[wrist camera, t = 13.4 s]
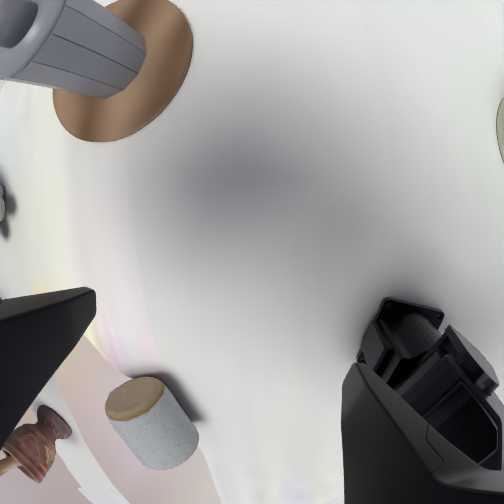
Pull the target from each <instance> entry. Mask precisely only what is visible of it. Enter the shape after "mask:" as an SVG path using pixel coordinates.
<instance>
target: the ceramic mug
mask: <svg viewBox="0 0 504 504" xmlns="http://www.w3.org/2000/svg"><path fill="white" fill-rule="evenodd" d="M105 411H106V414H107V417H108V419H109V421H110V423H111V424H112V426H113V428H114V429H115V430H116V432H117V433H118V434H119V435H120V437H121V438H122V439H123V440H124V442H125V443H126V444H127V446H128V447H129V448H130V450H131V451H132V452H133V453H134V455H135V456H136V457H137V458H138V459H139V460H140V462H141V463H142V464H143V465H145V466H147V467H148V468H150V469H154V470H166V469H171V468H174V467H176V466H178V465H180V464H182V463H183V462H185V461H186V460H187V459H189V457H190V456H191V455H192V454H193V453H194V451H195V450H196V448H197V446H198V441H199V434H198V431H197V429H196V427H195V426H194V425H193V423H192V422H191V421H190V419H189V418H188V416H187V415H186V414H185V412H184V411H183V409H182V408H181V407H180V405H179V404H178V402H177V401H176V399H175V398H174V396H173V395H172V393H171V392H170V390H169V389H168V388H167V387H166V386H165V385H164V383H162V382H161V381H160V380H159V379H156V378H154V377H139V378H135V379H132V380H130V381H127V382H125V383H124V384H122V385H120V386H119V387H118V388H116V389H114V390H113V391H111V392H110V393H109V394H108V399H107V401H106V404H105Z"/></svg>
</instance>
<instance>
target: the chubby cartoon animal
mask: <svg viewBox="0 0 504 504" xmlns="http://www.w3.org/2000/svg"><path fill="white" fill-rule="evenodd" d="M4 214H5V204H4V200H3V187H2V186H1V185H0V222H1V221H2V220H3V218H4Z"/></svg>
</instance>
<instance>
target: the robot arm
mask: <svg viewBox="0 0 504 504" xmlns="http://www.w3.org/2000/svg"><path fill="white" fill-rule="evenodd" d="M387 303H390V305H389V306H386V304H387ZM95 315H96V293H95V291H94V290H93V289H90V288H88V287H80V288H74V289H67V290H61V291H55V292H49V293H42V294H36V295H30V296H23V297H17V298H10V299H4V300H0V450H1V449H2V447H3V446H4V444H5V442H6V441H7V439H8V438H9V436H10V435H11V433H12V432H13V430H14V429H15V427H16V425H17V424H18V422H19V421H20V420H21V418H22V416H23V415H24V414H25V412H26V411H27V409H28V408H29V407H30V405H31V404H32V402H33V401H34V400H35V398H36V397H37V395H38V394H39V393H40V391H41V390H42V389H43V387H44V386H45V385H46V383H47V382H48V381H49V379H50V378H51V377H52V375H53V374H54V373H55V371H56V370H57V369H58V367H59V366H60V365H61V364H62V362H63V361H64V360H65V359H66V357H67V356H68V355H69V354H70V352H71V351H72V350H73V348H74V347H75V346H76V344H77V343H78V341H79V340H80V338H81V337H82V335H83V334H84V332H85V331H86V329H87V328H88V326H89V325H90V323H91V322H92V320H93V319H94V317H95ZM438 315H440V316H439V317H438ZM443 318H444V313H443V312H442V311H441V310H439V309H434V308H430V307H426V306H422V305H418V304H413V303H409V302H405V301H401V300H397V299H393V298H385V299H384V300H383V302H382V304H381V306H380V308H379V311H378V313H377V315H376V317H375V320H373V321H372V322H371V324H370V326H369V328H368V331H367V333H366V335H365V337H364V339H363V341H362V343H361V349H360V351H359V353H358V355H357V358H356V359H357V362H358V363H357V362H355V363H353V365H352V366H351V368H350V370H349V372H348V374H347V375H346V377H345V379H344V381H343V385H342V410H341V433H342V448H343V468H344V504H504V405H503V403H502V402H501V401H500V399H499V398H498V397H497V395H496V394H495V393H494V390H495V389H496V388H497V387H498V386H499V381H498V379H497V376H496V374H495V371H494V369H493V367H492V366H491V364H490V363H489V362H488V361H487V360H486V358H485V357H484V356H483V355H482V354H481V353H480V351H479V350H478V349H477V348H476V347H474V346H473V345H472V344H471V343H470V342H469V341H468V340H467V339H466V338H465V337H463V336H462V335H461V334H460V333H459V332H458V331H457V330H455V329H454V328H453V327H452V326H451V325H450V324H449V326H448V327H447V328H446V329H445V332H444V334H443V335H441V334H440V332H439V331H438V328H439V326H440V324H441V322H442V320H443ZM361 358H364V359H362V360H360V359H361Z"/></svg>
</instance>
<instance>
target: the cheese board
mask: <svg viewBox="0 0 504 504" xmlns="http://www.w3.org/2000/svg"><path fill="white" fill-rule="evenodd" d="M105 8H106V9H107V10H109V11H110V12H112V13H113V14H115V15H116V16H117V17H119V18H120V19H122V20H123V21H124V22H126V23H127V24H129V25H130V26H131V27H133V28H134V29H135V30H136V31H138V32H139V33H140V34H141V35H142V36H144V38H145V45H146V53H147V55H146V57H145V59H144V62H143V64H142V67H141V70H140V72H139V73H138V75H137V76H136V77H135V79H134V80H133V81H132V82H131V83H130V84H129V85H128V86H127V87H126V88H125V90H123V91H122V92H119V93H117V94H115V95H113V96H111V97H109V98H107V99H102V98H93V97H88V96H84V95H80V94H76V93H72V92H67V91H63V90H58V89H53V103H54V108H55V111H56V114H57V117H58V119H59V121H60V123H61V124H62V125H63V127H64V128H65V129H66V130H67V131H68V132H69V133H70V134H72V135H73V136H75V137H76V138H79V139H81V140H85V141H90V142H109V141H115V140H118V139H122V138H124V137H127V136H129V135H131V134H133V133H135V132H137V131H138V130H140V129H142V128H143V127H144V126H146V125H147V124H148V123H150V122H151V121H152V120H153V119H154V118H155V117H157V116H158V115H159V114H160V113H161V112H162V111H163V109H164V108H165V107H166V106H167V105H168V104H169V102H170V101H171V100H172V98H173V97H174V96H175V94H176V93H177V91H178V89H179V88H180V86H181V84H182V82H183V80H184V78H185V76H186V73H187V71H188V68H189V65H190V61H191V56H192V48H193V40H192V32H191V28H190V25H189V23H188V21H187V19H186V18H185V16H184V15H183V13H182V12H181V11H180V10H179V9H178V8H177V7H176V6H175V5H174V4H173V3H171V2H170V1H168V0H118V1H116V2H114V3H112V4H110V5H108V6H106V7H105Z"/></svg>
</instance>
